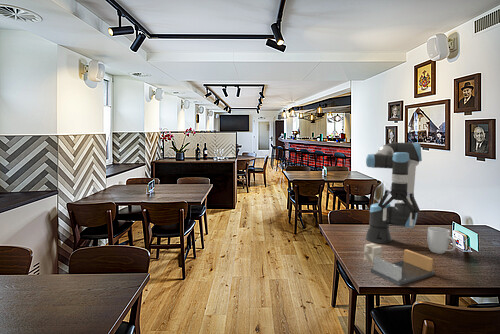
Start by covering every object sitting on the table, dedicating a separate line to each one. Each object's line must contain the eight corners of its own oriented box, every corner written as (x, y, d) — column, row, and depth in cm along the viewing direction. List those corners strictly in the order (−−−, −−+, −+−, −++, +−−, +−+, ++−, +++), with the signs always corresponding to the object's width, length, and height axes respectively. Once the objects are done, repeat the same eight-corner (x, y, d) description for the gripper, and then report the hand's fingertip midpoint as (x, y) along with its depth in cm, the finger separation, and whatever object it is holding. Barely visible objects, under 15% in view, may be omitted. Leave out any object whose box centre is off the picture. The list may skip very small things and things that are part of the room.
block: (364, 259, 171) (364, 244, 170) (372, 257, 174) (372, 243, 173) (372, 263, 166) (373, 248, 165) (381, 261, 168) (381, 246, 168)
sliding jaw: (403, 261, 164) (404, 249, 164) (406, 260, 165) (406, 249, 165) (429, 271, 152) (430, 259, 151) (432, 270, 153) (432, 258, 152)
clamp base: (370, 272, 155) (371, 257, 154) (404, 262, 167) (405, 248, 166) (399, 285, 141) (400, 269, 140) (434, 274, 153) (435, 259, 152)
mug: (459, 254, 178) (461, 232, 176) (449, 259, 172) (451, 235, 170) (432, 247, 190) (433, 225, 189) (422, 250, 184) (423, 228, 183)
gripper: (372, 180, 171) (371, 219, 173) (423, 186, 153) (420, 229, 155) (378, 179, 176) (377, 216, 178) (428, 184, 158) (425, 226, 160)
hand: (397, 222), depth 166 cm, fingers open, 13 cm apart
